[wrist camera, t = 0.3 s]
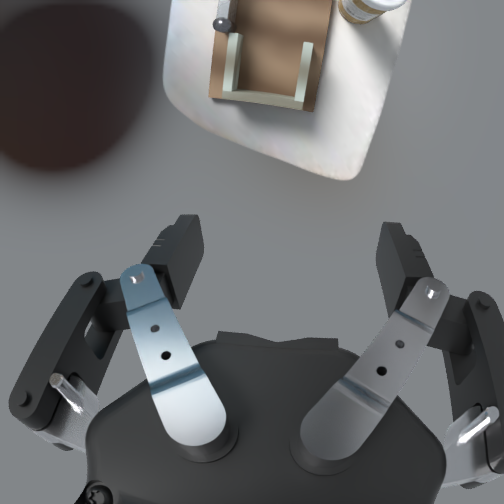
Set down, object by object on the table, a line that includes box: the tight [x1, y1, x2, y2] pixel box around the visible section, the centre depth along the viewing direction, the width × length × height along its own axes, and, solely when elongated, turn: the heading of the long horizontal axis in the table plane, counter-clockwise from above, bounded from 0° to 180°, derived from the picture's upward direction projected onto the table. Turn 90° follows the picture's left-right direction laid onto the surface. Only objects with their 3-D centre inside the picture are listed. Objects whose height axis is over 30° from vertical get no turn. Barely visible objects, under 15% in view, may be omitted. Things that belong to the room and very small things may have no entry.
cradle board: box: [209, 0, 332, 112], centre depth 27 cm, size 20×13×4 cm, turn 173°
